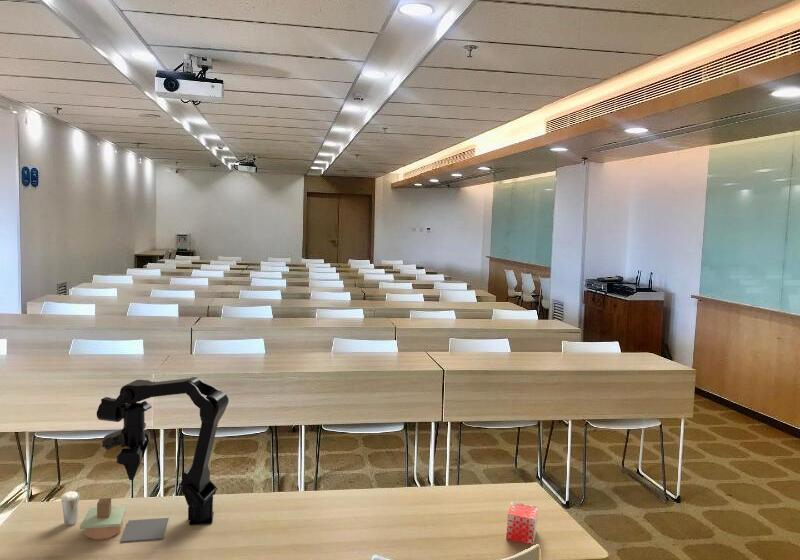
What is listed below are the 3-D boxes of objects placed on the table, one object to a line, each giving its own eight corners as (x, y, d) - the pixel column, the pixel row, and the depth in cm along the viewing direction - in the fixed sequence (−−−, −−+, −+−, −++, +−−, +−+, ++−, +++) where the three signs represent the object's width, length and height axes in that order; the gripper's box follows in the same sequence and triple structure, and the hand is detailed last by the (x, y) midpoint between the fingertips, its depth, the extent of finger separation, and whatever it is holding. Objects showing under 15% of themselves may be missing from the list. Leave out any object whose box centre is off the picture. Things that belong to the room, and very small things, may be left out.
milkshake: (74, 528, 173) (73, 495, 172) (58, 525, 174) (57, 492, 173) (85, 520, 178) (85, 488, 176) (69, 517, 179) (69, 485, 177)
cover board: (127, 508, 178) (126, 491, 177) (119, 526, 168) (119, 508, 168) (89, 510, 176) (89, 493, 175) (80, 528, 166) (79, 511, 165)
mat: (168, 519, 181) (168, 517, 181) (163, 539, 170) (163, 538, 170) (128, 521, 178) (128, 520, 178) (120, 542, 168) (120, 541, 167)
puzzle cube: (533, 544, 177) (535, 519, 176) (506, 539, 179) (507, 513, 178) (536, 531, 184) (538, 506, 183) (510, 525, 187) (511, 501, 186)
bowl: (124, 522, 178) (124, 509, 177) (118, 538, 169) (118, 525, 169) (91, 524, 176) (91, 511, 175) (83, 541, 167) (82, 527, 167)
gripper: (111, 413, 188) (112, 461, 190) (96, 436, 170) (97, 489, 172) (150, 411, 191) (150, 459, 193) (139, 434, 173) (139, 486, 175)
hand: (134, 472), depth 183 cm, fingers open, 9 cm apart
